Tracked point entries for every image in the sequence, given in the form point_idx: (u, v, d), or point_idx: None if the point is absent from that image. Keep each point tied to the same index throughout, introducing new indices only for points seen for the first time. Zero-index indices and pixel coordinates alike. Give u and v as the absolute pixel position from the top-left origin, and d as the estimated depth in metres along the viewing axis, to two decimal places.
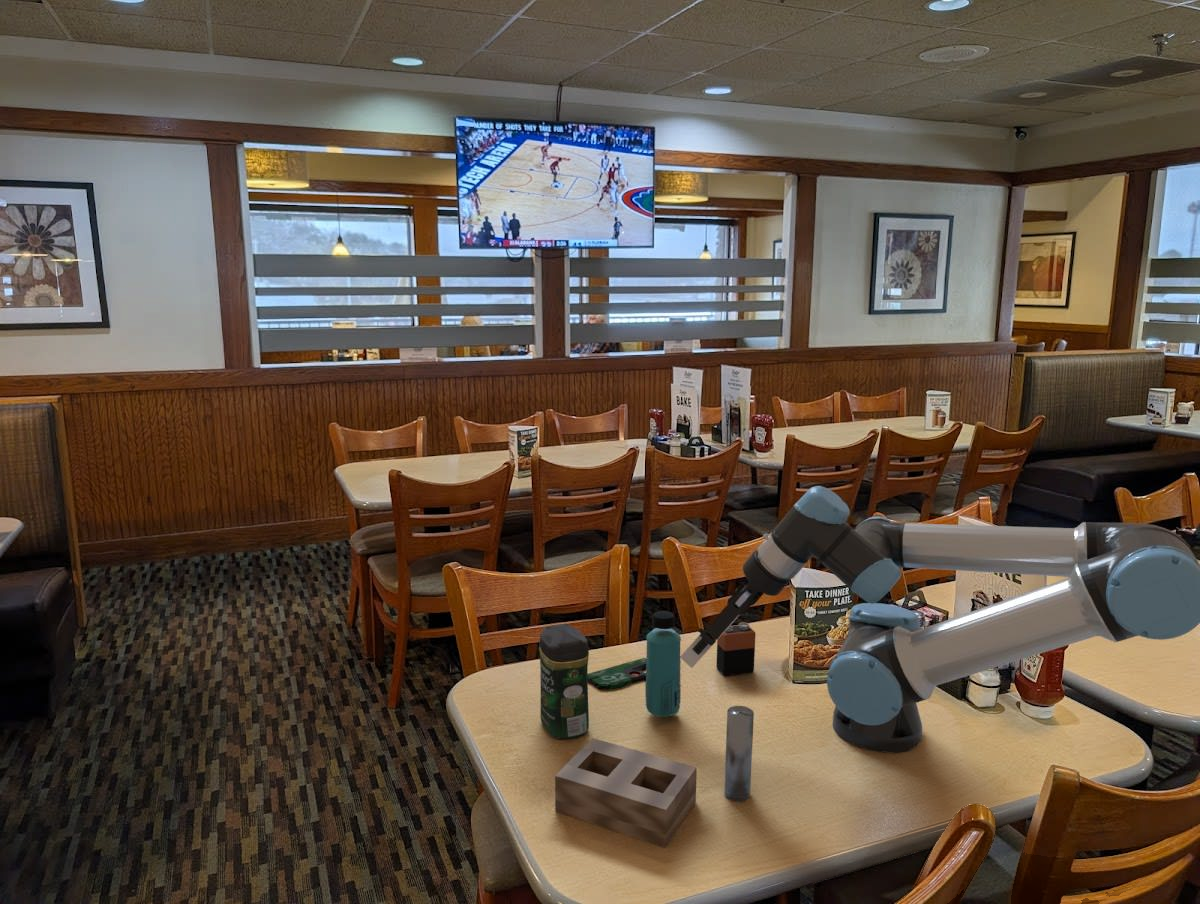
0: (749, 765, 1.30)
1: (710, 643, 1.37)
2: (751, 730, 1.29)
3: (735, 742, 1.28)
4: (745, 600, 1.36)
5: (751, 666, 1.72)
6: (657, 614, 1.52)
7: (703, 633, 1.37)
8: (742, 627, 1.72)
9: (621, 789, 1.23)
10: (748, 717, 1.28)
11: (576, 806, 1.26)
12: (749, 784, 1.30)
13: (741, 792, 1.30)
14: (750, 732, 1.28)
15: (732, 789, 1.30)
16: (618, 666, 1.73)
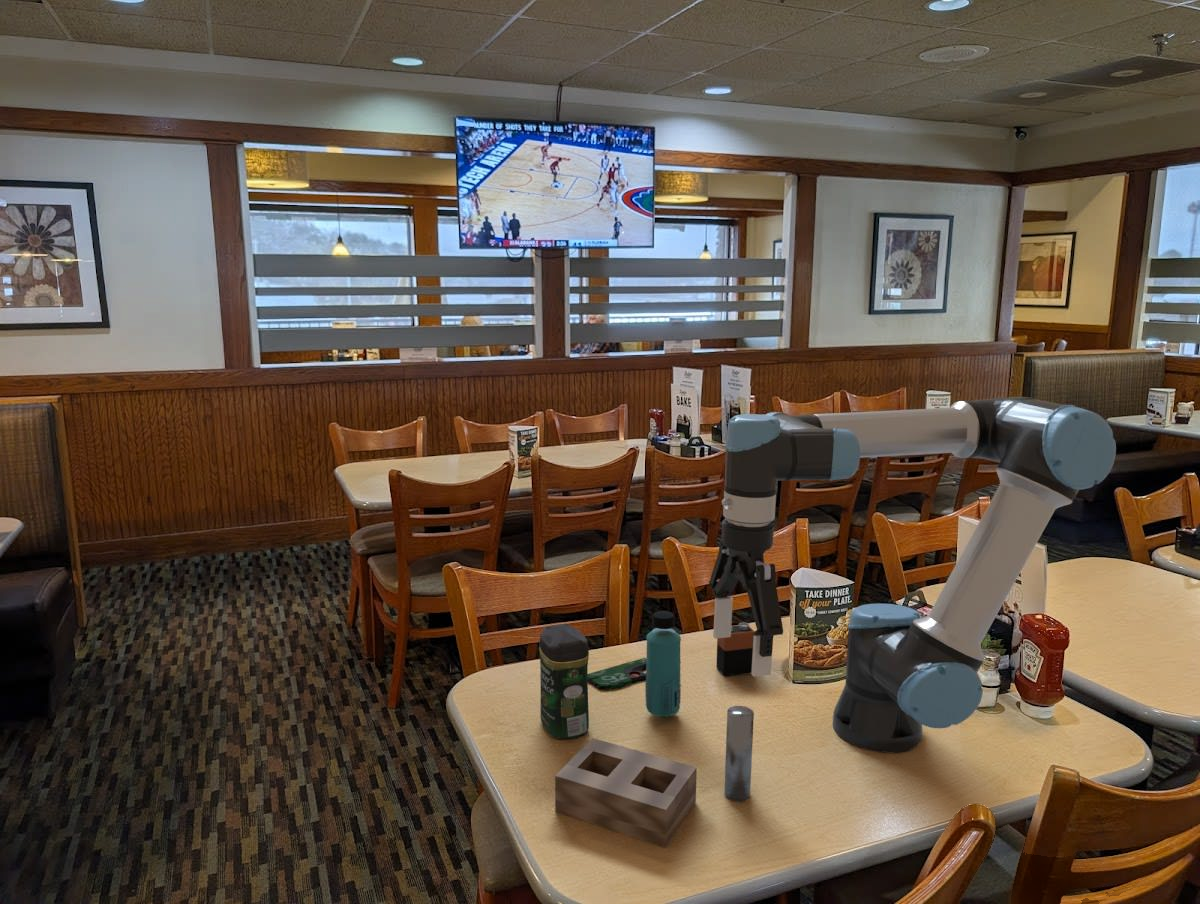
0: (749, 765, 1.30)
1: (781, 632, 1.17)
2: (751, 730, 1.29)
3: (735, 742, 1.28)
4: (770, 567, 1.19)
5: (751, 666, 1.72)
6: (657, 614, 1.52)
7: (768, 630, 1.17)
8: (742, 627, 1.72)
9: (621, 789, 1.23)
10: (748, 717, 1.28)
11: (576, 806, 1.26)
12: (749, 784, 1.30)
13: (741, 792, 1.30)
14: (750, 732, 1.28)
15: (732, 789, 1.30)
16: (618, 666, 1.73)
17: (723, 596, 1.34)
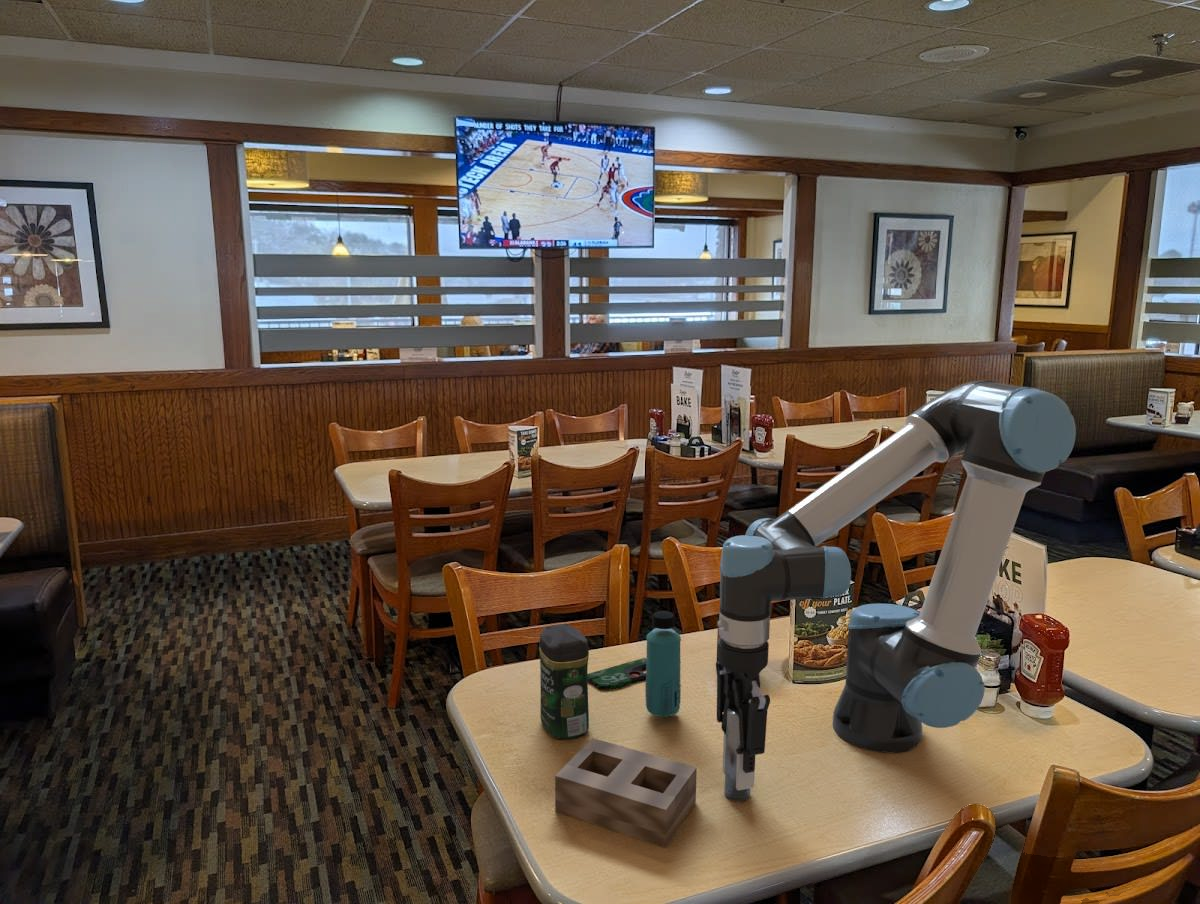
0: None
1: (762, 753, 1.25)
2: None
3: (735, 742, 1.28)
4: (765, 701, 1.22)
5: None
6: (657, 614, 1.52)
7: (751, 753, 1.24)
8: None
9: (621, 789, 1.23)
10: None
11: (576, 806, 1.26)
12: None
13: (741, 792, 1.30)
14: None
15: (732, 789, 1.30)
16: (618, 666, 1.73)
17: None
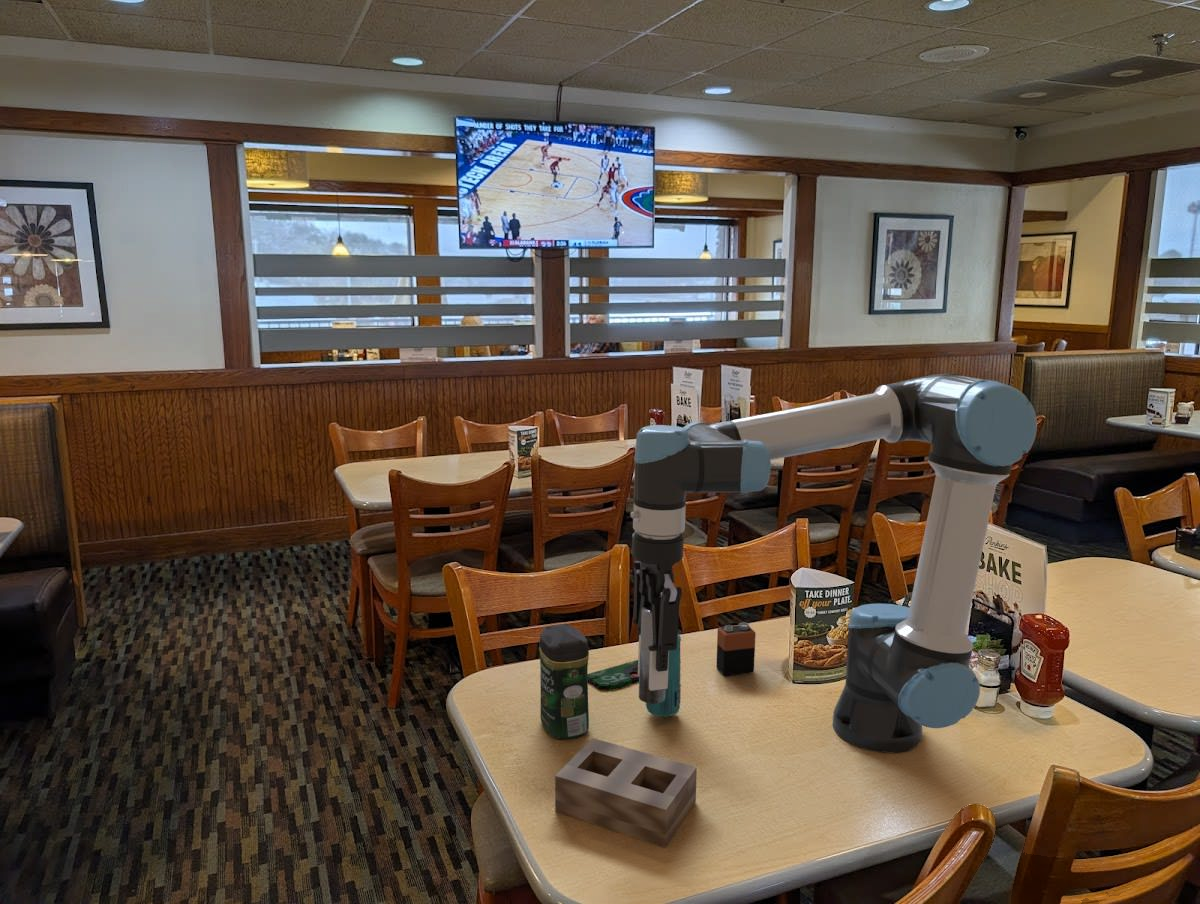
0: None
1: (674, 649, 1.21)
2: None
3: (649, 640, 1.24)
4: (677, 593, 1.18)
5: (751, 666, 1.72)
6: None
7: (662, 648, 1.20)
8: (742, 627, 1.72)
9: (621, 789, 1.23)
10: None
11: (576, 806, 1.26)
12: None
13: (655, 693, 1.25)
14: None
15: (645, 690, 1.26)
16: (618, 666, 1.73)
17: None
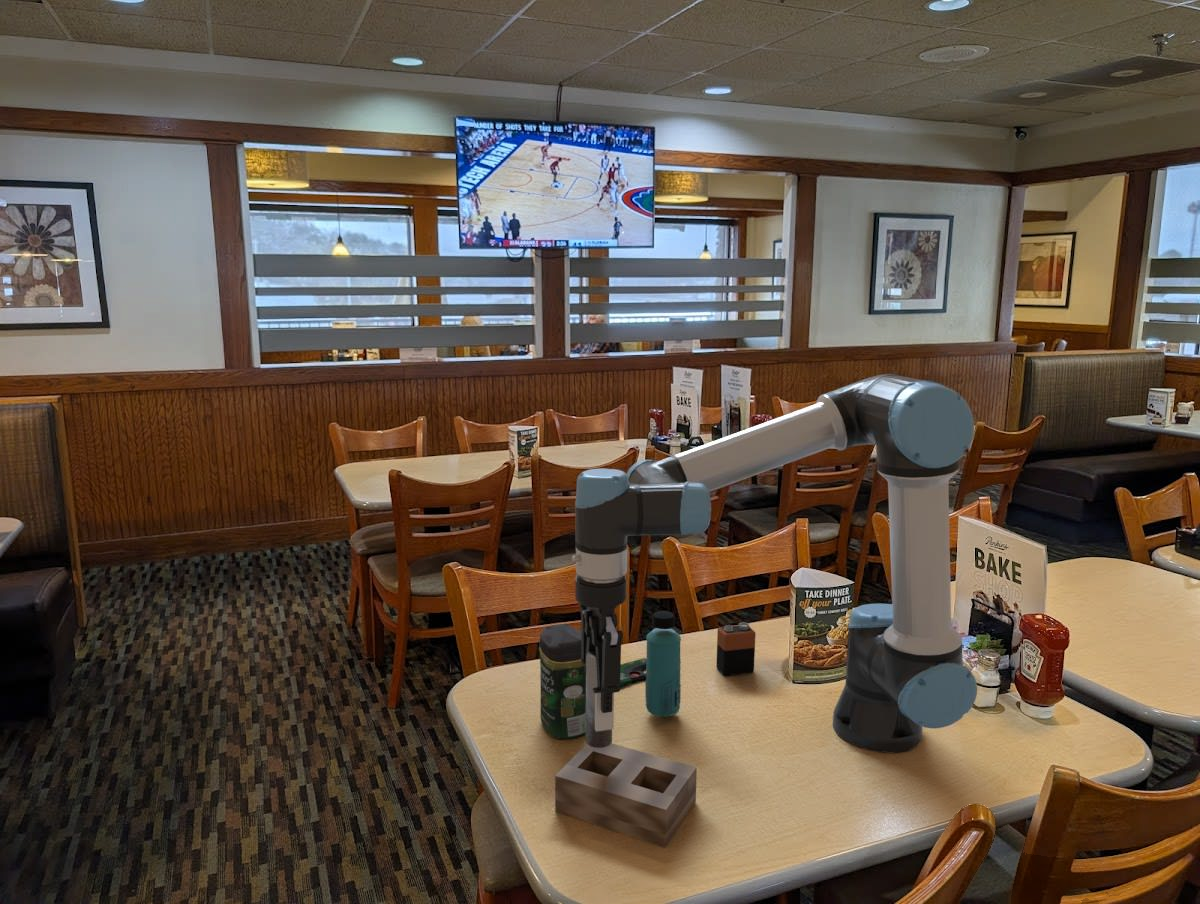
0: None
1: (617, 691, 1.22)
2: None
3: (593, 686, 1.25)
4: (618, 636, 1.19)
5: (751, 666, 1.72)
6: (657, 614, 1.52)
7: (605, 691, 1.21)
8: (742, 627, 1.72)
9: (621, 789, 1.23)
10: None
11: (576, 806, 1.26)
12: (609, 730, 1.27)
13: (601, 737, 1.26)
14: None
15: (591, 735, 1.27)
16: None
17: None
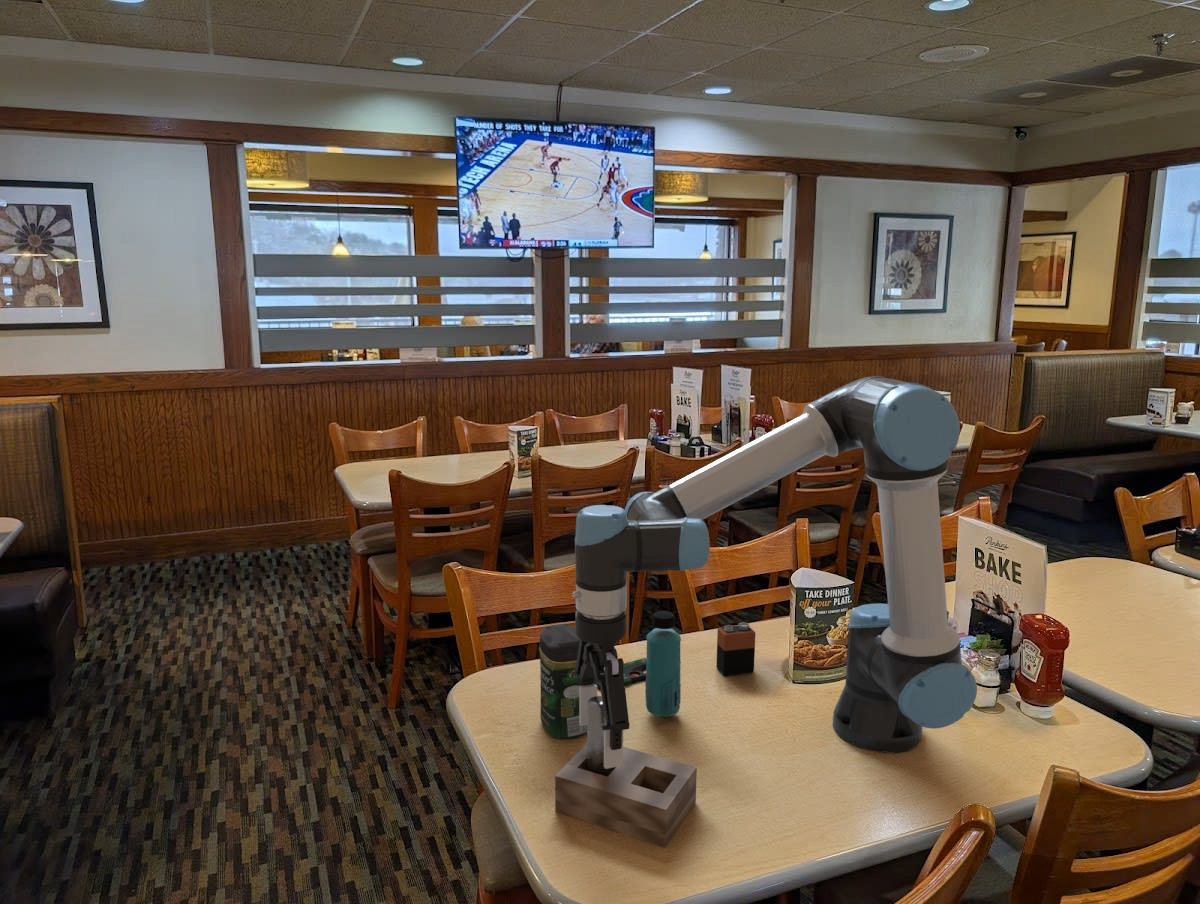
0: None
1: (627, 727, 1.19)
2: None
3: (594, 733, 1.27)
4: (618, 663, 1.20)
5: (751, 666, 1.72)
6: (657, 614, 1.52)
7: (614, 726, 1.18)
8: (742, 627, 1.72)
9: (621, 789, 1.23)
10: None
11: (576, 806, 1.26)
12: None
13: None
14: None
15: None
16: None
17: (587, 683, 1.34)
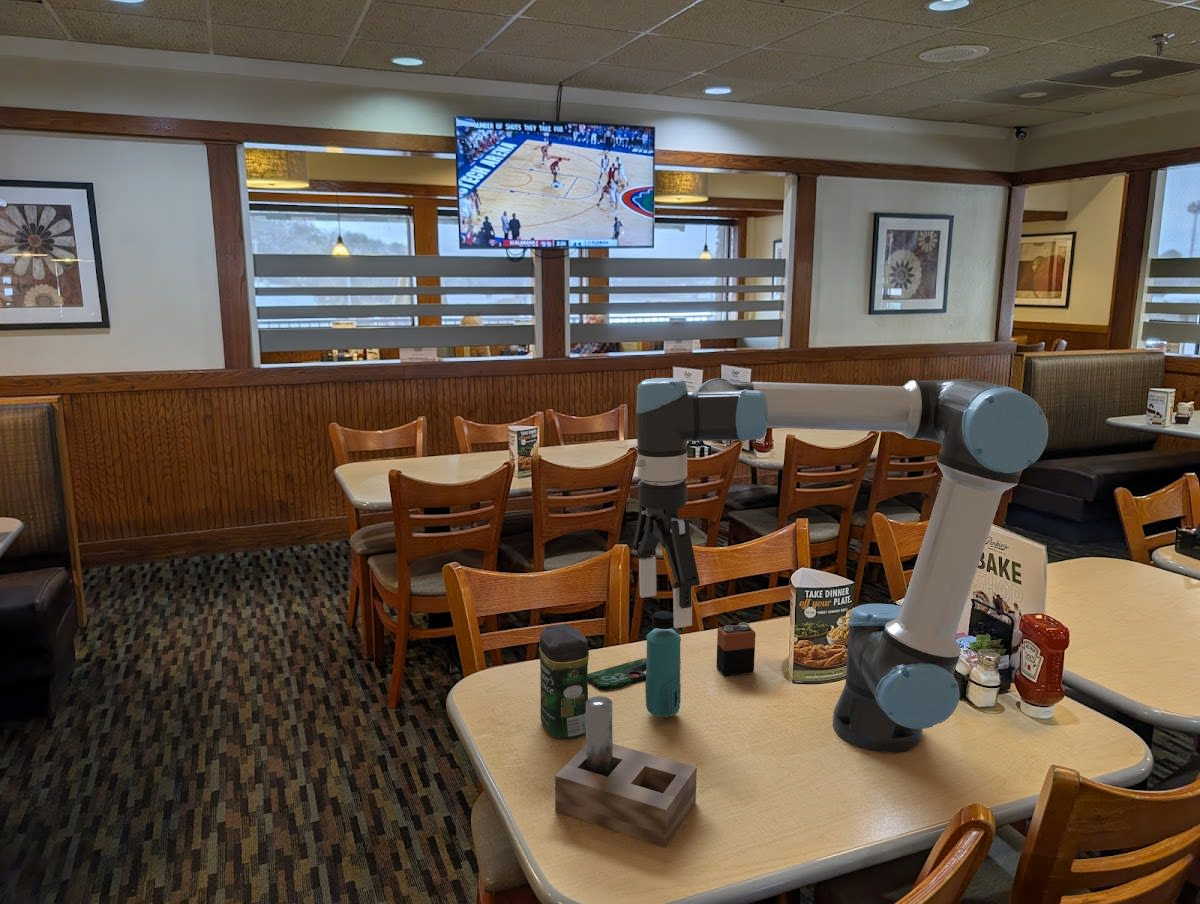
0: (609, 756, 1.28)
1: (697, 583, 1.23)
2: (609, 721, 1.27)
3: (593, 734, 1.26)
4: (684, 522, 1.24)
5: (751, 666, 1.72)
6: (657, 614, 1.52)
7: (685, 582, 1.22)
8: (742, 627, 1.72)
9: (621, 789, 1.23)
10: (605, 708, 1.26)
11: (576, 806, 1.26)
12: None
13: None
14: (608, 723, 1.27)
15: None
16: (618, 666, 1.73)
17: (646, 556, 1.39)
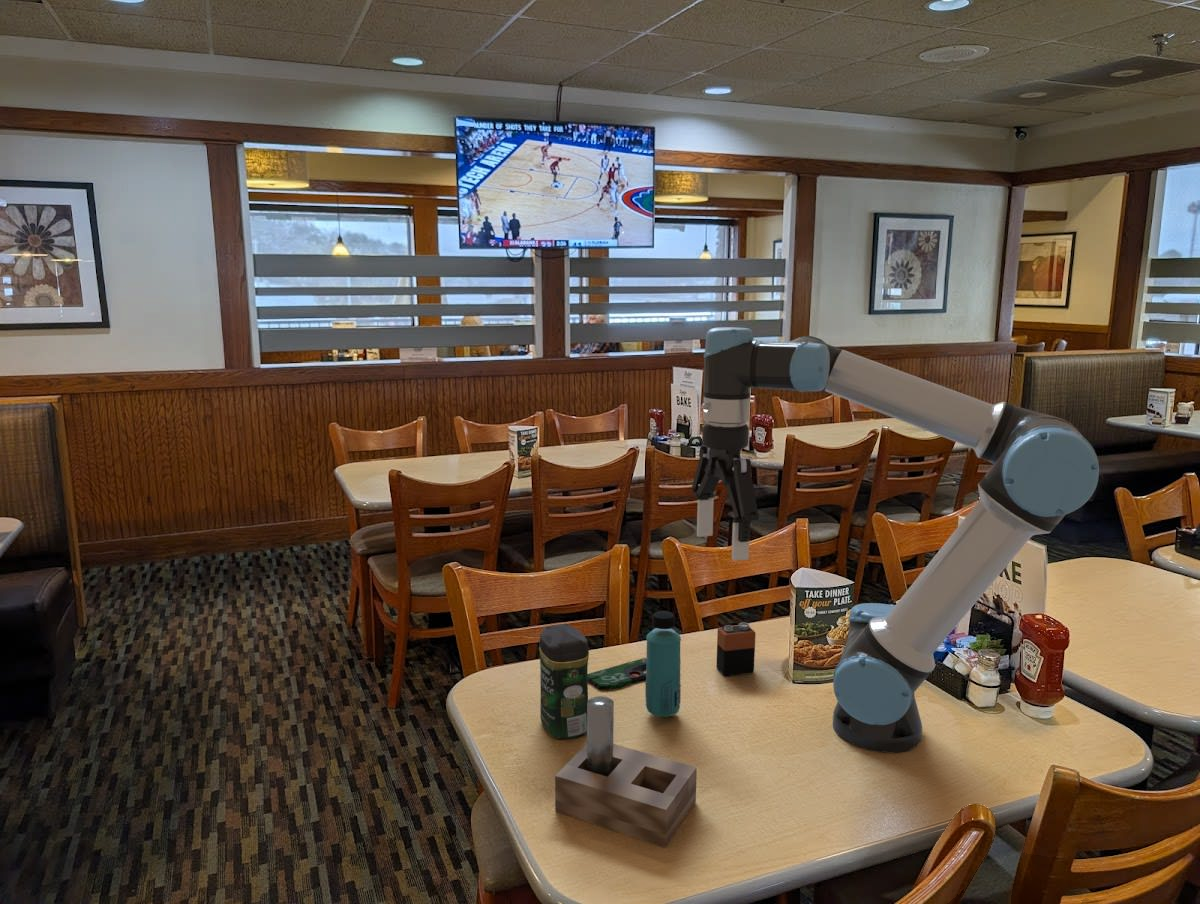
0: (609, 756, 1.28)
1: (756, 518, 1.32)
2: (610, 721, 1.27)
3: (594, 733, 1.26)
4: (746, 461, 1.33)
5: (751, 666, 1.72)
6: (657, 614, 1.52)
7: (745, 516, 1.31)
8: (742, 627, 1.72)
9: (621, 789, 1.23)
10: (607, 708, 1.26)
11: (576, 806, 1.26)
12: None
13: None
14: (610, 723, 1.27)
15: None
16: (618, 666, 1.73)
17: (704, 498, 1.48)
